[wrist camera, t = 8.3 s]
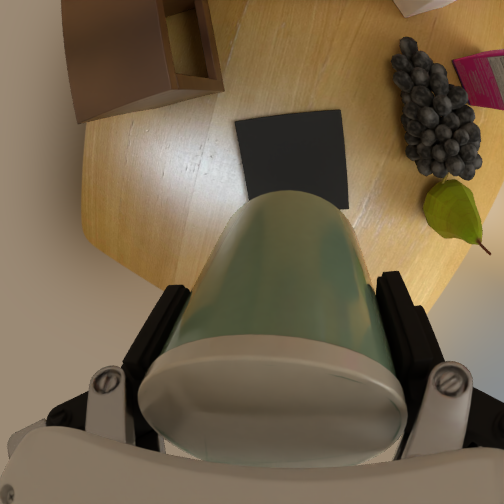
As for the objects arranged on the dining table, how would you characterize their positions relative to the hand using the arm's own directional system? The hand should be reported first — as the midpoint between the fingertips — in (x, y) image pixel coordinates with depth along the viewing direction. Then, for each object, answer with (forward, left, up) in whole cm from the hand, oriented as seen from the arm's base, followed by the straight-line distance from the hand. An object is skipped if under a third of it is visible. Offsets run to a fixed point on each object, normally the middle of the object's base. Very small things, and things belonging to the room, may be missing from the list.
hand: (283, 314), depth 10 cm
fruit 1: (-6, +15, -24) cm, 29 cm away
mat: (0, 0, -23) cm, 23 cm away
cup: (0, 0, -4) cm, 4 cm away
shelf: (-15, -10, -23) cm, 30 cm away
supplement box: (-10, +23, -24) cm, 34 cm away
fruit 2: (+5, +17, -24) cm, 29 cm away
